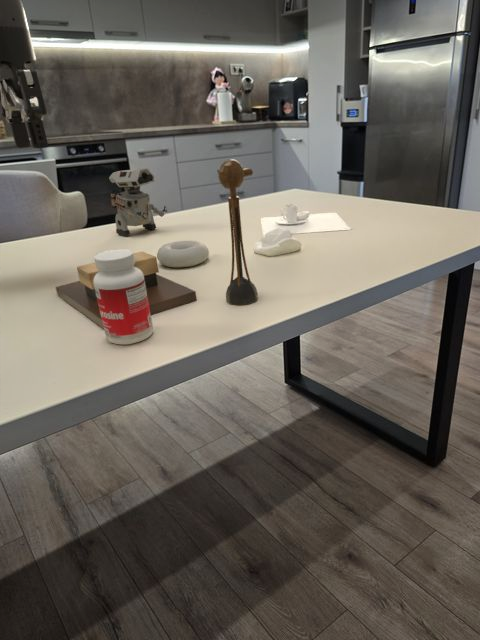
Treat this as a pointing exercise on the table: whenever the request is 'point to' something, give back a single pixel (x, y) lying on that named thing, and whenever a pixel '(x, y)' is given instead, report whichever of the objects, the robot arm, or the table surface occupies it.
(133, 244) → the table surface
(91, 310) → the board
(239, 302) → the wooden tabletop sculpture
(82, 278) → the brush
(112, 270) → the pill bottle
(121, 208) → the figurine
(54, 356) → the table surface
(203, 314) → the table surface
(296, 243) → the white lumpy piece
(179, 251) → the donut
